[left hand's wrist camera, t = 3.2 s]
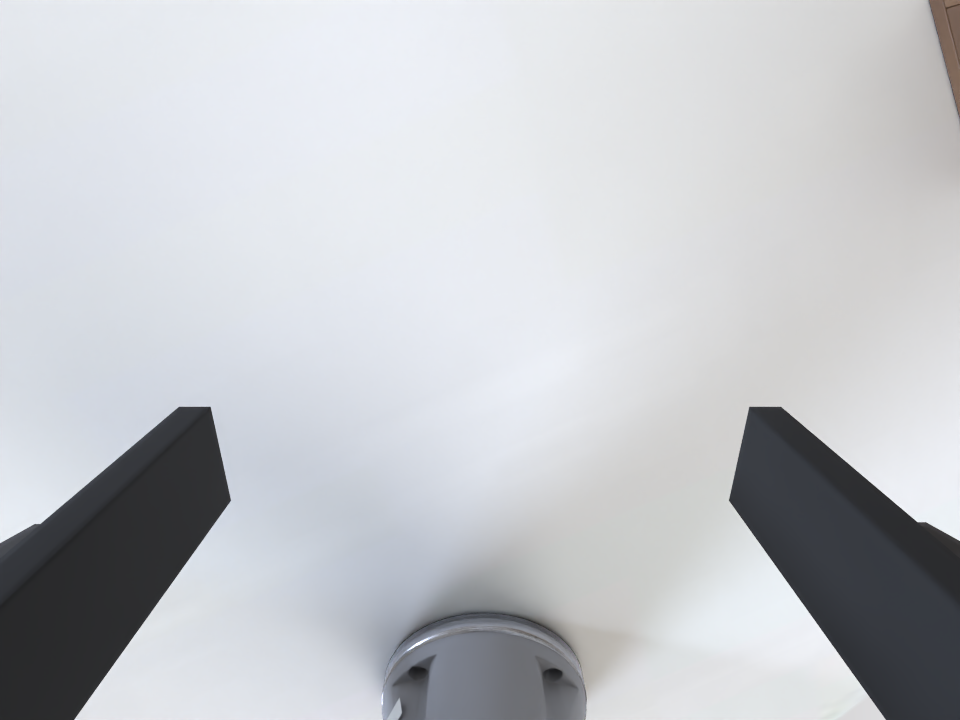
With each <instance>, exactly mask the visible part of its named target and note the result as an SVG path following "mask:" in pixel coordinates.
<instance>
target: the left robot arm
mask: <svg viewBox="0 0 960 720" xmlns="http://www.w3.org/2000/svg"><path fill="white" fill-rule="evenodd" d="M230 501H231V499H230V494H229V490H228V485H227V480H226V476H225V471H224V467H223V462H222V457H221V453H220V448H219V444H218V439H217V434H216V430H215V425H214V421H213V416H212V412H211V407H178V408H177V409H176V410H175V411H174V412H173V413H171V414H170V415H169V416H168V417H167V418H165V419H164V420H163V421H162V422H161V423H160V424H158V425H157V426H156V427H155V428H154V429H152V430H151V431H150V432H149V433H148V434H146V435H145V436H144V437H143V438H142V439H141V440H139V441H138V442H137V443H136V444H135V445H133V446H132V447H131V448H130V449H129V450H128V451H126V452H125V453H124V454H123V455H122V456H120V457H119V458H118V459H117V460H116V461H115V462H113V463H112V464H111V465H110V466H109V467H107V468H106V469H105V470H104V471H103V472H102V473H100V474H99V475H98V476H97V477H96V478H94V479H93V480H92V481H91V482H90V483H89V484H87V485H86V486H85V487H84V488H83V489H81V490H80V491H79V492H78V493H77V494H76V495H74V496H73V497H72V498H71V499H70V500H68V501H67V502H66V503H65V504H64V505H63V506H61V507H60V508H59V509H58V510H57V511H55V512H54V513H53V514H52V515H51V516H50V517H48V518H47V519H46V520H45V521H44V522H42V523H41V524H34V525H32V526H31V527H29V528H27V529H25V530H23V531H22V532H20V533H18V534H16V535H14V536H13V537H11V538H9V539H7V540H5V541H4V542H2V543H0V720H74V719H75V718H76V716H77V715H78V713H79V712H80V711H81V709H82V708H83V706H84V705H85V704H86V702H87V701H88V699H89V698H90V697H91V695H92V694H93V692H94V691H95V690H96V688H97V687H98V685H99V684H100V683H101V681H102V680H103V678H104V677H105V676H106V674H107V673H108V671H109V670H110V669H111V667H112V666H113V665H114V663H115V662H116V660H117V659H118V658H119V656H120V655H121V653H122V652H123V651H124V649H125V648H126V646H127V645H128V644H129V642H130V641H131V639H132V638H133V637H134V635H135V634H136V632H137V631H138V630H139V628H140V627H141V625H142V624H143V623H144V621H145V620H146V618H147V617H148V616H149V614H150V613H151V611H152V610H153V609H154V607H155V606H156V604H157V603H158V602H159V600H160V599H161V597H162V596H163V595H164V593H165V592H166V590H167V589H168V588H169V586H170V585H171V583H172V582H173V581H174V579H175V578H176V576H177V575H178V574H179V572H180V571H181V570H182V568H183V567H184V565H185V564H186V563H187V561H188V560H189V558H190V557H191V556H192V554H193V553H194V551H195V550H196V549H197V547H198V546H199V544H200V543H201V542H202V540H203V539H204V537H205V536H206V535H207V533H208V532H209V530H210V529H211V528H212V526H213V525H214V523H215V522H216V521H217V519H218V518H219V516H220V515H221V514H222V512H223V511H224V509H225V508H226V507H227V505H228V504H229V502H230ZM729 501H730V502H731V504H732V505H733V507H734V508H735V509H736V511H737V512H738V514H739V515H740V516H741V518H742V519H743V521H744V522H745V523H746V525H747V526H748V528H749V529H750V530H751V532H752V533H753V535H754V536H755V537H756V539H757V540H758V542H759V543H760V544H761V546H762V547H763V549H764V550H765V551H766V553H767V554H768V556H769V557H770V558H771V560H772V561H773V563H774V564H775V565H776V567H777V568H778V570H779V571H780V572H781V574H782V575H783V576H784V578H785V579H786V581H787V582H788V583H789V585H790V586H791V588H792V589H793V590H794V592H795V593H796V595H797V596H798V597H799V599H800V600H801V602H802V603H803V604H804V606H805V607H806V609H807V610H808V611H809V613H810V614H811V616H812V617H813V618H814V620H815V621H816V623H817V624H818V625H819V627H820V628H821V630H822V631H823V632H824V634H825V635H826V637H827V638H828V639H829V641H830V642H831V644H832V645H833V646H834V648H835V649H836V651H837V652H838V653H839V655H840V656H841V658H842V659H843V660H844V662H845V663H846V665H847V666H848V667H849V669H850V670H851V671H852V673H853V674H854V676H855V677H856V678H857V680H858V681H859V683H860V684H861V685H862V687H863V688H864V690H865V691H866V692H867V694H868V695H869V697H870V698H871V699H872V701H873V702H874V703H875V705H876V706H877V708H878V709H879V711H880V712H881V713H882V715H883V716H884V718H885V719H886V720H960V541H959V540H957V539H955V538H953V537H951V536H950V535H948V534H946V533H944V532H942V531H941V530H939V529H937V528H935V527H933V526H931V525H930V524H928V523H926V522H916V521H915V520H914V519H913V518H912V517H910V516H909V515H908V514H907V513H906V512H905V511H903V510H902V509H901V508H900V507H899V506H897V505H896V504H895V503H894V502H893V501H892V500H890V499H889V498H888V497H887V496H886V495H884V494H883V493H882V492H881V491H880V490H879V489H877V488H876V487H875V486H874V485H873V484H871V483H870V482H869V481H868V480H867V479H866V478H864V477H863V476H862V475H861V474H860V473H858V472H857V471H856V470H855V469H854V468H853V467H851V466H850V465H849V464H848V463H847V462H845V461H844V460H843V459H842V458H841V457H840V456H838V455H837V454H836V453H835V452H834V451H832V450H831V449H830V448H829V447H828V446H827V445H825V444H824V443H823V442H822V441H821V440H819V439H818V438H817V437H816V436H815V435H814V434H812V433H811V432H810V431H809V430H808V429H806V428H805V427H804V426H803V425H802V424H800V423H799V422H798V421H797V420H796V419H795V418H793V417H792V416H791V415H790V414H789V413H787V412H786V411H785V410H784V409H783V408H782V407H749V412H748V416H747V421H746V425H745V430H744V434H743V439H742V444H741V448H740V453H739V457H738V462H737V467H736V471H735V476H734V480H733V485H732V490H731V494H730V499H729ZM586 701H587V699H586V690H585V685H584V680H583V675H582V670H581V667H580V664H579V661H578V659H577V657H576V656H575V654H574V652H573V651H572V650H571V648H570V647H569V646H568V645H567V644H566V643H565V642H564V641H563V640H562V639H561V638H560V637H558V636H557V635H556V634H554V633H553V632H551V631H550V630H548V629H546V628H545V627H543V626H541V625H538V624H536V623H534V622H531V621H528V620H526V619H522V618H518V617H514V616H509V615H503V614H492V613H475V614H465V615H459V616H454V617H450V618H446V619H443V620H440V621H437V622H434V623H432V624H430V625H427V626H425V627H424V628H422V629H420V630H418V631H417V632H415V633H414V634H412V635H411V636H410V637H408V638H407V639H406V640H405V641H404V642H403V643H402V644H401V645H400V646H399V647H398V649H397V650H396V651H395V653H394V654H393V656H392V657H391V659H390V662H389V664H388V667H387V671H386V676H385V681H384V687H383V693H382V714H383V720H585V719H586Z"/></svg>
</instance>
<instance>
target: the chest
mask: <svg viewBox="0 0 960 720" xmlns="http://www.w3.org/2000/svg"><path fill="white" fill-rule="evenodd" d="M929 2H930V5H931V9H932V13H933V17H934V21H935V25H936V28H937V32H938V36H939V40H940V44H941V48H942V51H943V55H944V59H945V63H946V67H947V71H948V74H949V78H950V82H951V86H952V90H953V94H954V97H955V101H956V105H957V109H958V113H959V117H960V0H929Z"/></svg>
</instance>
